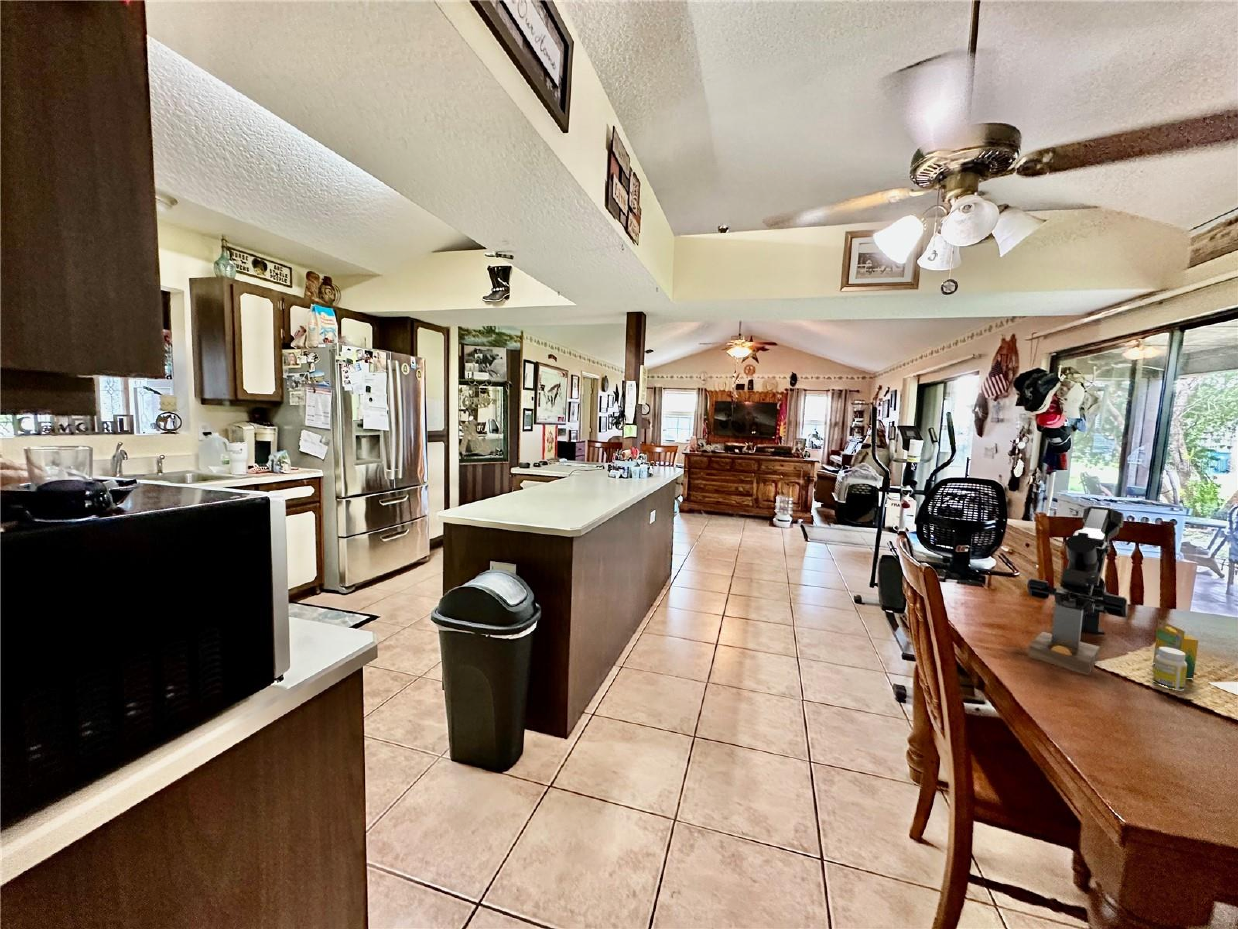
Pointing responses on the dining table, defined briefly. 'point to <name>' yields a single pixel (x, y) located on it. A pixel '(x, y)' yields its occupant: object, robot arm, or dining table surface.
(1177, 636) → the crayon box
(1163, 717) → the dining table surface
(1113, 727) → the dining table surface
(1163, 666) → the supplement bottle
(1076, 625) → the grey piece
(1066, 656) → the board
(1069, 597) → the robot arm
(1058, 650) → the ball
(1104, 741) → the dining table surface
